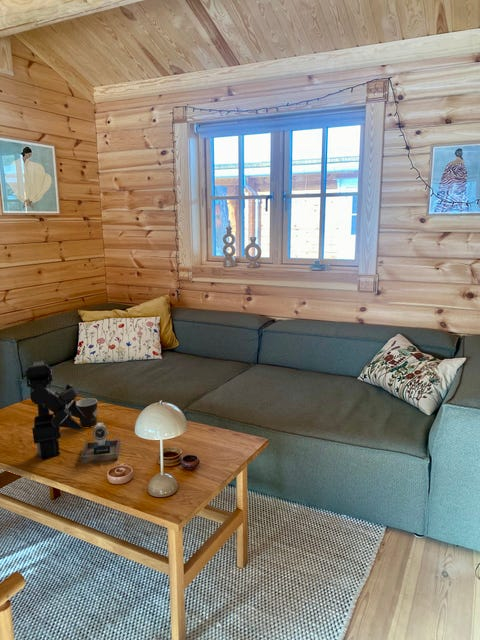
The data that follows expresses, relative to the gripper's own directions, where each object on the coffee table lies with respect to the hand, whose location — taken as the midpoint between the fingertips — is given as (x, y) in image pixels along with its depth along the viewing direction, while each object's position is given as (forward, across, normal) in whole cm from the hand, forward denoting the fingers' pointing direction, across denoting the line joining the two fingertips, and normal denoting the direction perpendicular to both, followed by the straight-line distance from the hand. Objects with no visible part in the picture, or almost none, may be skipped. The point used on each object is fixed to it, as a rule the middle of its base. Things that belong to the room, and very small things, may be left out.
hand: (82, 423), depth 169 cm
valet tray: (+13, 0, +5) cm, 14 cm away
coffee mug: (+8, +29, +9) cm, 31 cm away
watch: (+13, 0, +4) cm, 13 cm away
